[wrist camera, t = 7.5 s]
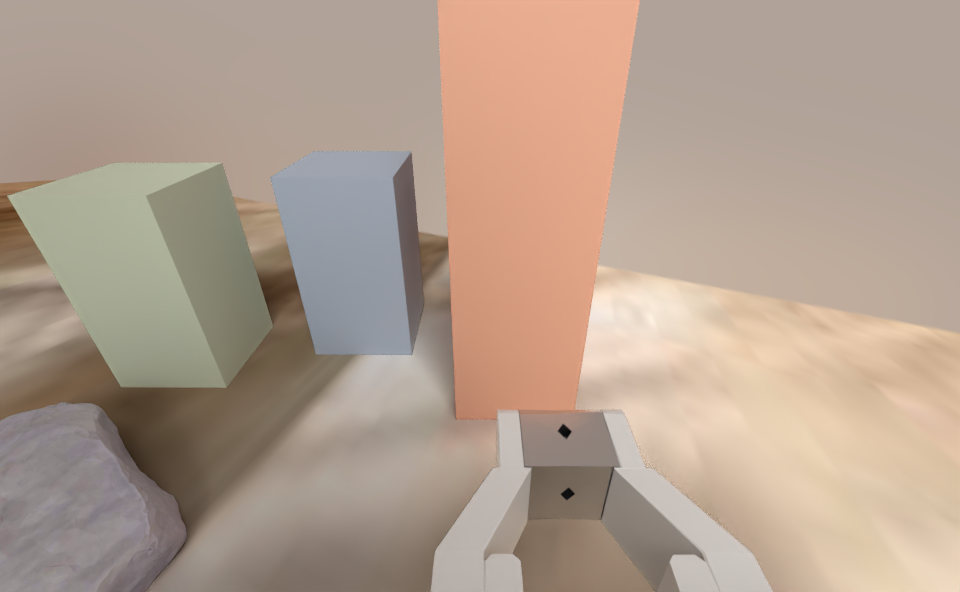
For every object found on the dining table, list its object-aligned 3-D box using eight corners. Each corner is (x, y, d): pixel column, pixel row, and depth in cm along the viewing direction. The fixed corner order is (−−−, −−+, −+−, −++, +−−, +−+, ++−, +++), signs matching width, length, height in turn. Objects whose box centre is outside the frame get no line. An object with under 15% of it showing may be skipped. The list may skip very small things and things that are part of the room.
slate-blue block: (315, 354, 26) (270, 177, 20) (344, 303, 31) (313, 151, 25) (411, 355, 26) (392, 177, 20) (423, 304, 31) (411, 151, 25)
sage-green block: (121, 387, 23) (7, 195, 18) (186, 326, 29) (114, 162, 23) (226, 387, 23) (145, 195, 18) (273, 326, 29) (222, 162, 23)
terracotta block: (456, 419, 21) (436, -15, 12) (467, 274, 35) (462, 19, 26) (572, 420, 21) (642, -16, 12) (538, 274, 35) (558, 18, 26)
